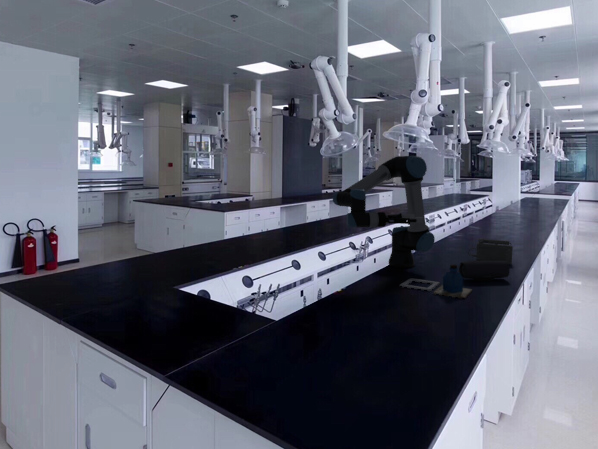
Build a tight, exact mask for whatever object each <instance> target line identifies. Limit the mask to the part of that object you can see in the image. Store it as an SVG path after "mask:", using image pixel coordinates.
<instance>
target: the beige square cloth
mask: <svg viewBox="0 0 598 449" xmlns="http://www.w3.org/2000/svg"><path fill="white" fill-rule="evenodd" d="M433 293H434V294H433ZM471 293H473V289H472V288H466V287H463V291H462V292H457V293H451V292H448V291H445V290H443V284H441V285H439V287H438V288H437V289H436V288H435V290H434V291H433V292H432V294H433V295H436V294H439V295H438V296H442V295H444V296H443V297H449V296H452V297H451V298H455V297H458V298H457V299H462V298H465V299H467V297H468V296H469V295H471Z"/></svg>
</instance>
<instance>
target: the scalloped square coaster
mask: <svg viewBox="0 0 598 449" xmlns="http://www.w3.org/2000/svg"><path fill="white" fill-rule="evenodd" d="M412 281H415V282H414V283H420V282H422V284H427V283H430V284H429V286H427V287H424V286H417V285H411V284H412ZM409 283H410V284H409ZM440 283H441V282H440V281H434V280H427V279H426V280H425V279H420V278H412V277H411V278H409V279H407V280H405V281H404V282H402V283H400V284H399V287H400V286H402V287H401V288H404V287H407V288H406V289H411V288H414V289H413V290H417V289H421V290H420V291H424V290H427V291H426V292H431V291H433V290H434V289H436V288H437V287H438V286H440V285H441V284H440ZM436 286H437V287H436ZM432 289H433V290H432Z"/></svg>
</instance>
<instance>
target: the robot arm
mask: <svg viewBox="0 0 598 449" xmlns="http://www.w3.org/2000/svg"><path fill="white" fill-rule="evenodd" d="M427 169H428V167H427V163H426V161H425V160H424V158H422V157H420V155H400V156H395V157H392V158H391V159H390V158H389V159H388V160H386V161H384V162H383V163H382V164H380V165H378V167H377V169H375V170H374V171H372V172H371V173H369V174H368V175H366V176H365V177H363V178H362V179H360V180H358V181H357V182H355V183H354V184H352V185H350V186H349V187H347V188H346V189H344V190H342V191H336V192H334V193H333V196H332V202H333V203H334V205H335V206H339V207H346V208H348V207H349V208H350V212H348V213H347V214H346V226H347V227H348V228H370V229H373V228H377V227H378V228H383V227H384V228H385V227H386V225H387V224H391V225H392V224H400V225H401V224H403V225H405V226H396V227H393V228H392V231H391V232H392V233H391V252H390V256H389V258H388V266H390V267H393V266H394V267H393V268H404V269H405V268H412V267H414V266H415V258H414V255H413V251H415V252H419V253H428V252H429V251H431V249H432V248H433V246H434V244H435V235H434V234H433V233H432V232H430V228H429V226H428V224H426V217H425V209H424V198H423V191H422V181H424V177H425V175H426V172H427ZM394 178H400V181H401V184H403V185H404V189H405V190H404V191H405V198H406V207H407V214H406V213H405V214H402V213H401V212H399V213H397V214H388V215H387V214H386V213H385V211H378V212H376V211H375V212H373V211H372V212H371V211H370V212H369V211H368V212H366V210H367V209H366V207H367V206H366V203H367V201H366V199H367V197H366V196H367V195H366V194H367V193H368V192H369V191H371V190H372V189H374V188H376V187H377V186H379V185H380V184H382V183H383V182H386V181H387V182H388V181H390V180H391V179H394ZM406 225H407V226H406Z"/></svg>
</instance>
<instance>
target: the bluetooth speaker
mask: <svg viewBox="0 0 598 449" xmlns="http://www.w3.org/2000/svg"><path fill="white" fill-rule="evenodd" d="M458 270H459V271H458V272H459V273H460V274H461V275H462V277H463V279H469V280H470V279H471V280H473V281H478V282H479V281H483V282H485V281H494V280H495V279H501V278H502V279H505V278H508V277H509V276H510V273H511V272H510V264H508V263H507V262H506V261H476V260H473V261H471V260H469V261H462V262H460V264H459V267H458Z"/></svg>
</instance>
